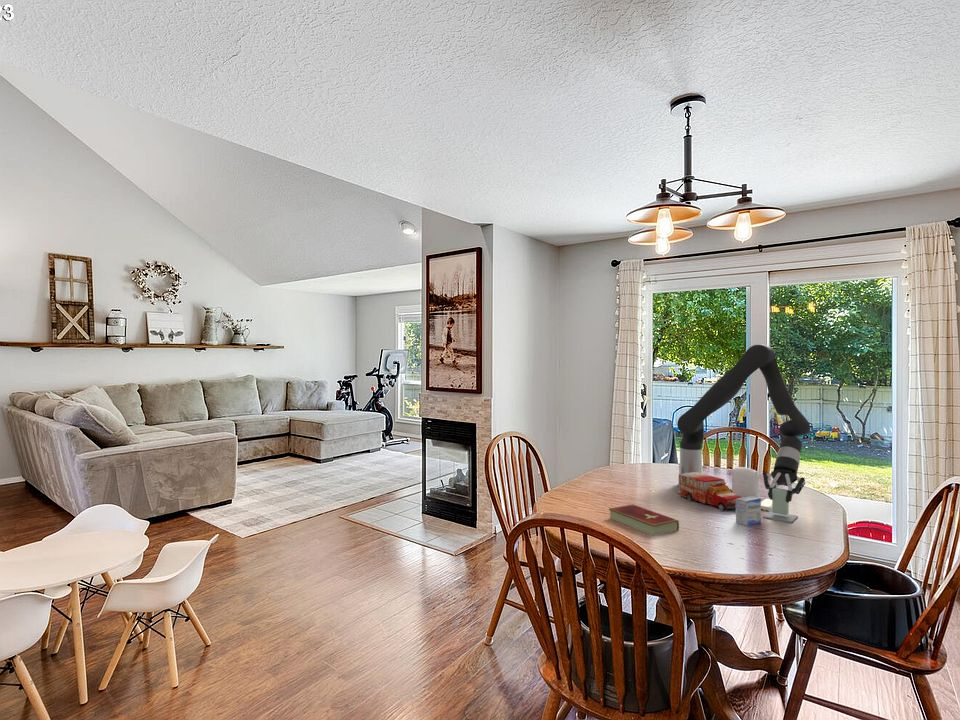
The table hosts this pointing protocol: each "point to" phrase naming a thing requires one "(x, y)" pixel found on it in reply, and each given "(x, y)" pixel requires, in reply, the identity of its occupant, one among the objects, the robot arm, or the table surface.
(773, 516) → the stub pad
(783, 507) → the stub block
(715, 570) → the table surface
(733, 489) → the photo printer
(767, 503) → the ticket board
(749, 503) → the medicine box
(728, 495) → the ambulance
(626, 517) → the hardcover book
